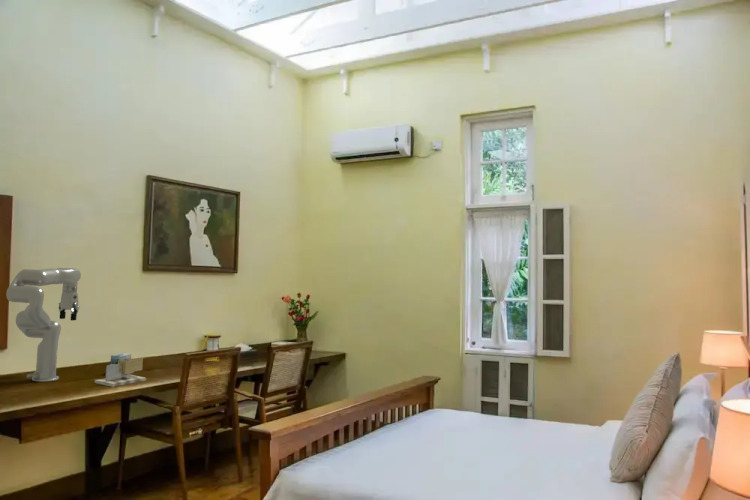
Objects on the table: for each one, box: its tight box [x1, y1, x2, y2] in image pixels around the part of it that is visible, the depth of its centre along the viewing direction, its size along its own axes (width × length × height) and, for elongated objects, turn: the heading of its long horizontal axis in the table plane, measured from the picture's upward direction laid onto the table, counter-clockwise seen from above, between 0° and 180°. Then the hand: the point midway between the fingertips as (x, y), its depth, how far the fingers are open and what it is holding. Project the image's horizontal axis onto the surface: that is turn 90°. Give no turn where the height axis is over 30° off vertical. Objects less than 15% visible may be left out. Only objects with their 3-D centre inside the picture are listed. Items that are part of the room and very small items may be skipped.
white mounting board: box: [94, 374, 147, 388], centre depth 324 cm, size 22×14×2 cm, turn 153°
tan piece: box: [118, 357, 144, 374], centre depth 331 cm, size 14×6×7 cm, turn 153°
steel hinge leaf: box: [104, 359, 132, 382], centre depth 323 cm, size 15×6×10 cm, turn 153°
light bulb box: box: [109, 352, 132, 365], centre depth 348 cm, size 11×7×11 cm, turn 168°
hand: (67, 319), depth 341 cm, fingers open, 9 cm apart
